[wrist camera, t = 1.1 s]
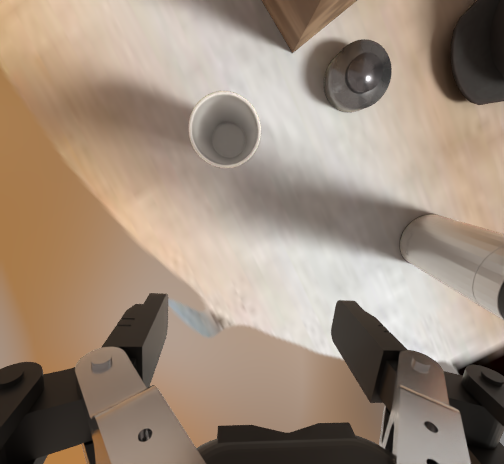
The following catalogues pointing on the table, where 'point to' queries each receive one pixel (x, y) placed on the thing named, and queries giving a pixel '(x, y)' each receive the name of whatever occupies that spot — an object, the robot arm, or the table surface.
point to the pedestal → (303, 17)
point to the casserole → (480, 52)
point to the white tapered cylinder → (224, 129)
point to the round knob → (357, 76)
